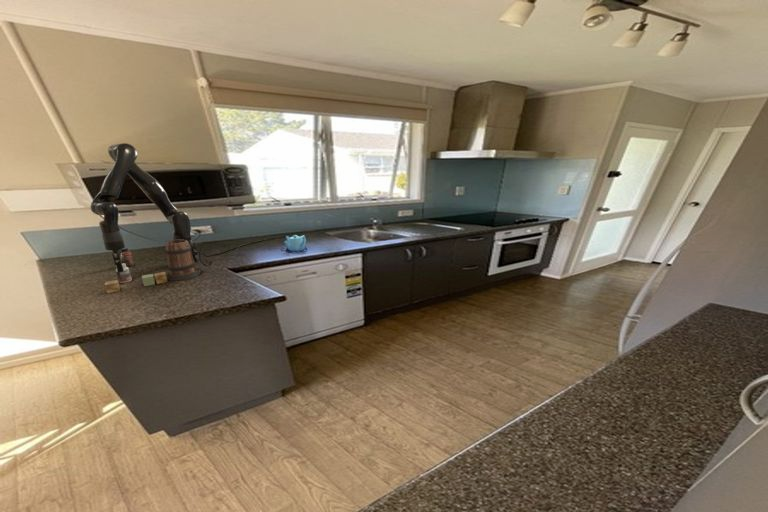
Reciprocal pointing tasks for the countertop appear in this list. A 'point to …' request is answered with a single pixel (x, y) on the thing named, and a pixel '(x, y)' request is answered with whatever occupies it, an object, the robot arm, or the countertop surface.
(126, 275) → the pill bottle
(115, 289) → the birch block
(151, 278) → the sage block
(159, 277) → the maple block
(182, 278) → the tankard
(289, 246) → the teapot
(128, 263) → the supplement bottle
